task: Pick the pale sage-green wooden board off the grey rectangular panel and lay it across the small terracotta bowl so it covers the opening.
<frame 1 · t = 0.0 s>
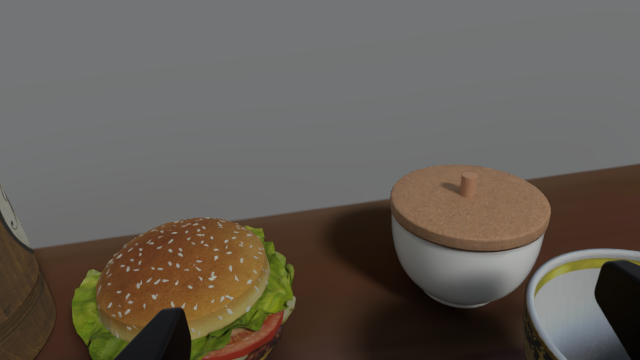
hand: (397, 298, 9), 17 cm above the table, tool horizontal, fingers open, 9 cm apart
food: (198, 330, 31), on the table
lidded jar: (456, 282, 34), on the table
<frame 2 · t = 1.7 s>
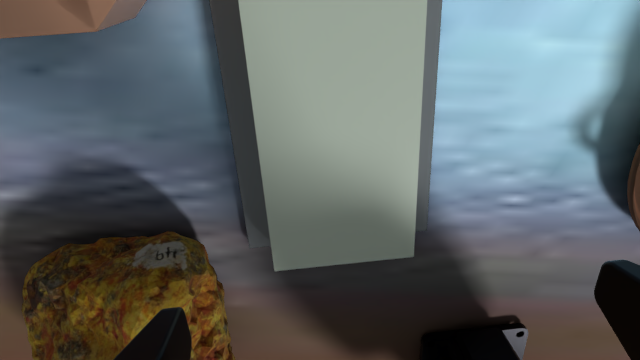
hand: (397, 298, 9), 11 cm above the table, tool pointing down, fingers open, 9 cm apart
board: (334, 126, 19), point 1 cm above the table, touching grey rectangular panel
rock: (166, 311, 24), on the table
grey rectangular panel: (332, 122, 19), on the table
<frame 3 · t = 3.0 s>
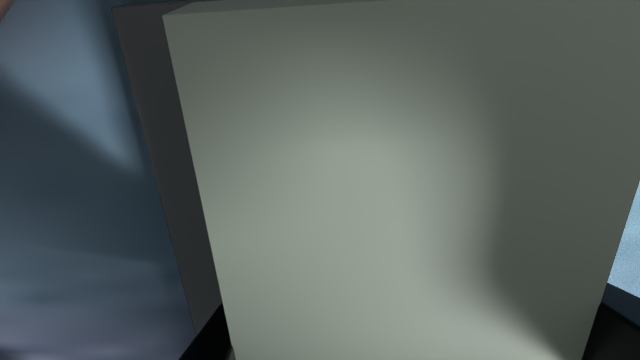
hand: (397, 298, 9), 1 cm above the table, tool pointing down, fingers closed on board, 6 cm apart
board: (391, 282, 9), point 1 cm above the table, touching gripper, grey rectangular panel
grey rectangular panel: (385, 265, 10), on the table
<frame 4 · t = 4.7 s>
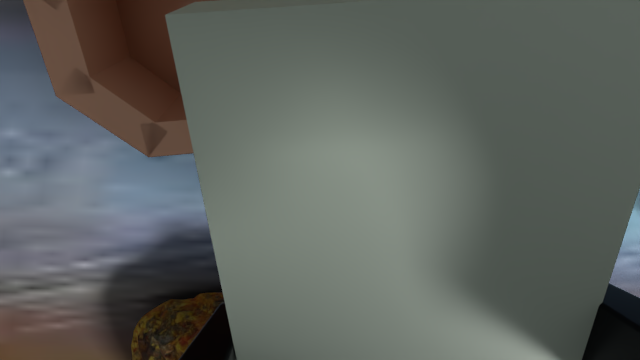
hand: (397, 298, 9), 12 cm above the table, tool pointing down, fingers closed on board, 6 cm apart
board: (393, 282, 9), point 11 cm above the table, touching gripper
rock: (246, 355, 26), on the table
bowl: (198, 18, 17), on the table
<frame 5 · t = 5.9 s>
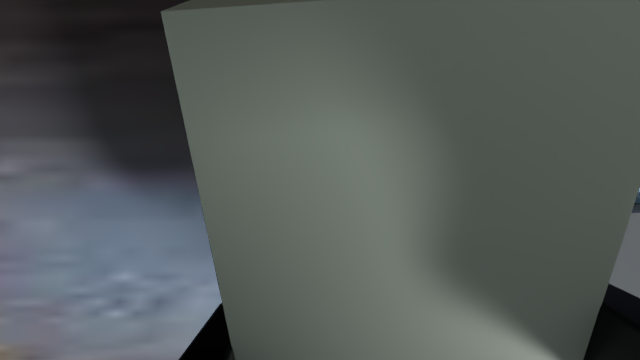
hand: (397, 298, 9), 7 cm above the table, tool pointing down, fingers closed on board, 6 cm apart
board: (392, 281, 9), point 6 cm above the table, touching gripper
grey rectangular panel: (544, 320, 20), on the table
when the fingers open (6 cm above the table, at t = 6.5 s): board drops 1 cm, resting on bowl.
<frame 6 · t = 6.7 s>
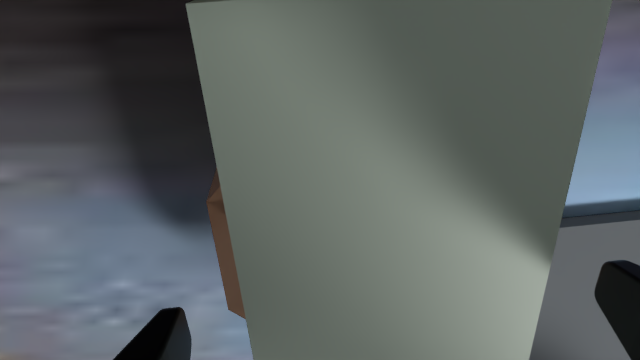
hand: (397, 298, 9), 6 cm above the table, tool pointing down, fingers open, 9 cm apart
board: (378, 242, 11), point 4 cm above the table, touching bowl
grey rectangular panel: (549, 328, 19), on the table
bowl: (349, 168, 15), on the table
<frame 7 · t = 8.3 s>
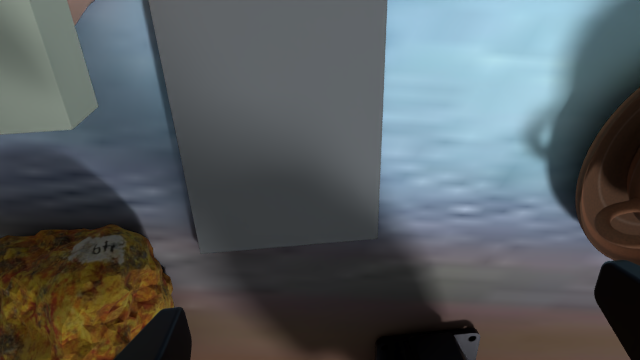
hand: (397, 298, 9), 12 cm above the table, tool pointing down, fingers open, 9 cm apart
rock: (116, 304, 23), on the table
grey rectangular panel: (281, 131, 19), on the table
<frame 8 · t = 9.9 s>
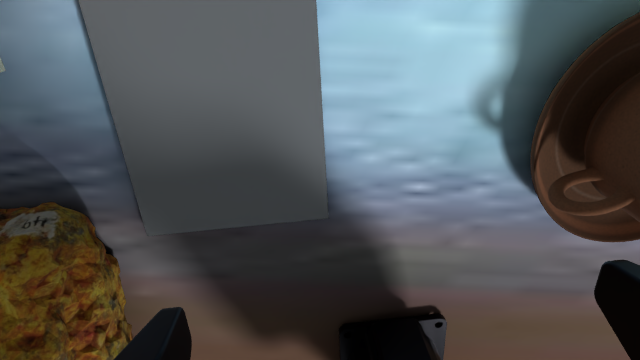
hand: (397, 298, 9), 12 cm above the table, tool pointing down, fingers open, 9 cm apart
rock: (67, 289, 23), on the table
grey rectangular panel: (220, 107, 19), on the table
cup and saucer: (627, 120, 22), on the table
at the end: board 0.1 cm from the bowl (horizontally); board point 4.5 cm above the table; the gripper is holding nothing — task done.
